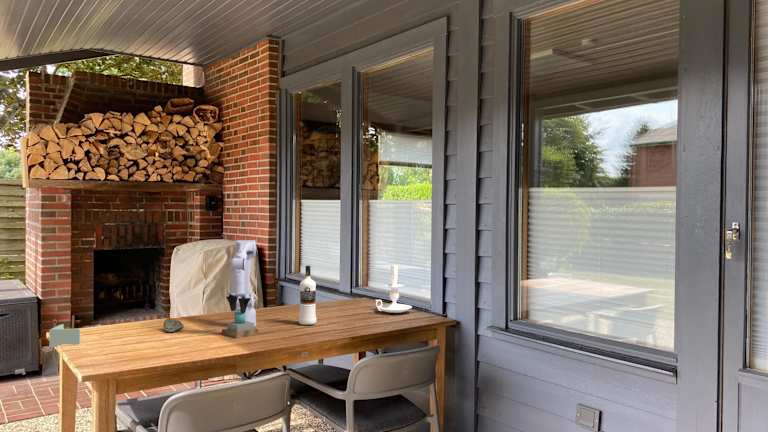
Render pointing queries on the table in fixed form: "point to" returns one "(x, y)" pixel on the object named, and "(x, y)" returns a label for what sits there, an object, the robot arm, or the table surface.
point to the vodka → (307, 300)
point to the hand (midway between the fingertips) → (238, 311)
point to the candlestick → (393, 295)
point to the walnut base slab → (239, 333)
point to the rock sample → (172, 325)
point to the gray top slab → (240, 326)
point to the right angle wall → (63, 336)
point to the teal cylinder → (239, 317)
